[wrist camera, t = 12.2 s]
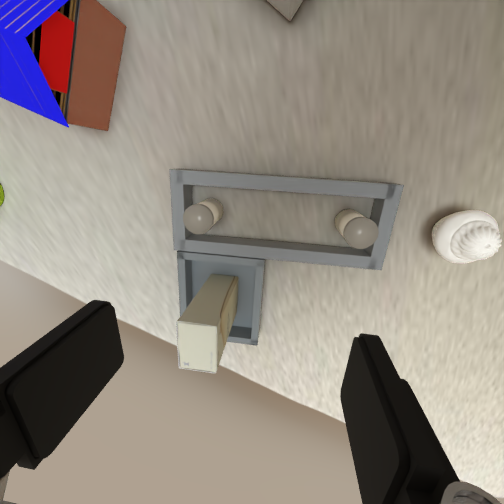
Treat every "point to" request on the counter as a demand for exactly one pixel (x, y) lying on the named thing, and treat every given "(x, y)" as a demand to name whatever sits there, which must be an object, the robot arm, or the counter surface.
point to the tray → (249, 288)
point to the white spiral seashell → (466, 236)
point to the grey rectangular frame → (276, 250)
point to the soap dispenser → (1, 195)
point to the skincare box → (207, 324)
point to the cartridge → (356, 229)
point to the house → (61, 59)
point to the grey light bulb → (202, 216)
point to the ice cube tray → (286, 7)
